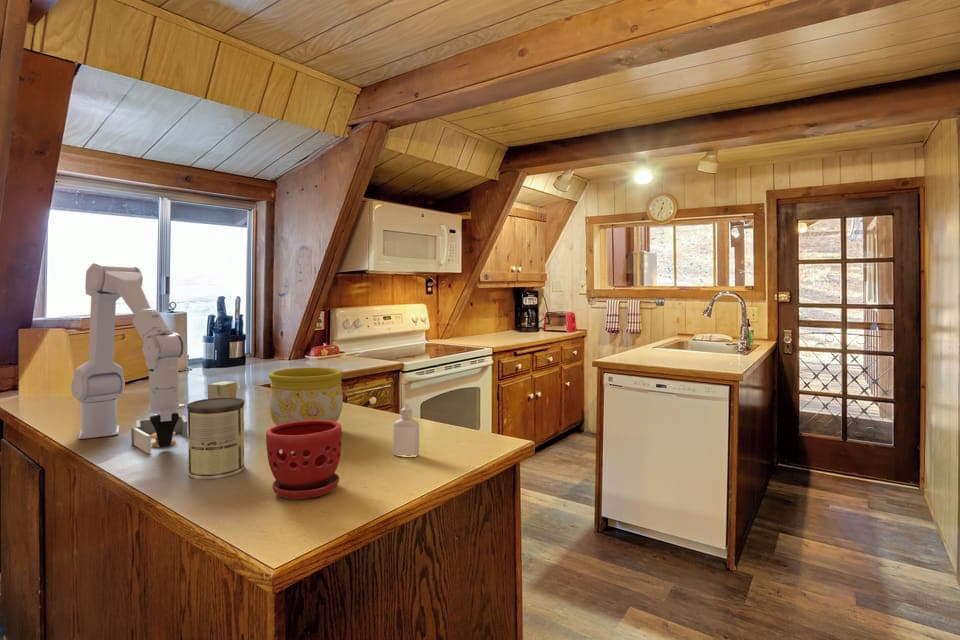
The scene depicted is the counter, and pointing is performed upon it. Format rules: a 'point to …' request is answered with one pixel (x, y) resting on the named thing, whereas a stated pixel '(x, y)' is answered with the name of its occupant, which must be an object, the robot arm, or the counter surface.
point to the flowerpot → (305, 394)
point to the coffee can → (216, 437)
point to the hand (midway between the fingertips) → (164, 446)
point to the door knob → (157, 440)
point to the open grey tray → (149, 428)
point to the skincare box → (222, 390)
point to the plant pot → (304, 457)
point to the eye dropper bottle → (406, 434)
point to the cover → (141, 439)
